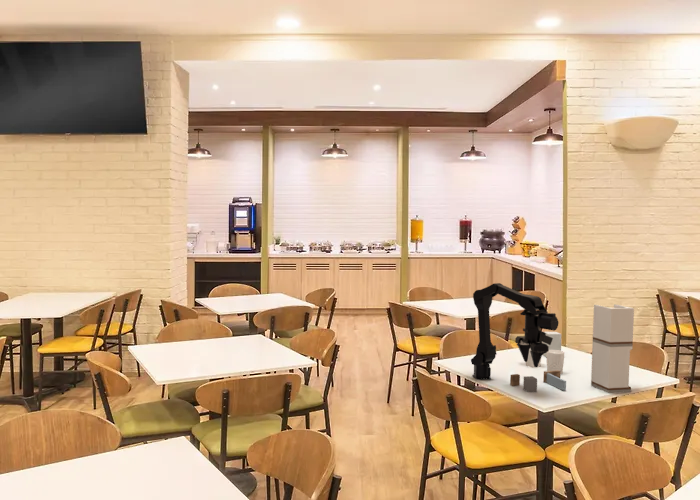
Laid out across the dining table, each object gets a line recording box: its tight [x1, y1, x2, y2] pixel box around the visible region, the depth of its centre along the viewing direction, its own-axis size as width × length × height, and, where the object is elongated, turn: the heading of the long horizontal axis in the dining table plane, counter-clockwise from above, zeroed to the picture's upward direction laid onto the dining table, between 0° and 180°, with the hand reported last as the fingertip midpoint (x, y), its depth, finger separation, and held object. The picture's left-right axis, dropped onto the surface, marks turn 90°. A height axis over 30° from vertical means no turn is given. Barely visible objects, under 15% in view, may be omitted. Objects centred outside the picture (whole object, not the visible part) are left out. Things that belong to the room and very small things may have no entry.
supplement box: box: [542, 331, 562, 358], centre depth 301 cm, size 7×7×13 cm
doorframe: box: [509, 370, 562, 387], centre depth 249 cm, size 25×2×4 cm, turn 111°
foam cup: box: [525, 342, 544, 368], centre depth 281 cm, size 10×9×13 cm
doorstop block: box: [522, 375, 538, 393], centre depth 238 cm, size 4×4×6 cm
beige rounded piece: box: [546, 350, 565, 375], centre depth 268 cm, size 8×8×10 cm
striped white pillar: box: [590, 304, 635, 394], centre depth 242 cm, size 11×11×35 cm
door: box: [546, 373, 567, 392], centre depth 244 cm, size 13×2×4 cm, turn 13°
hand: (530, 364), depth 237 cm, fingers open, 9 cm apart
